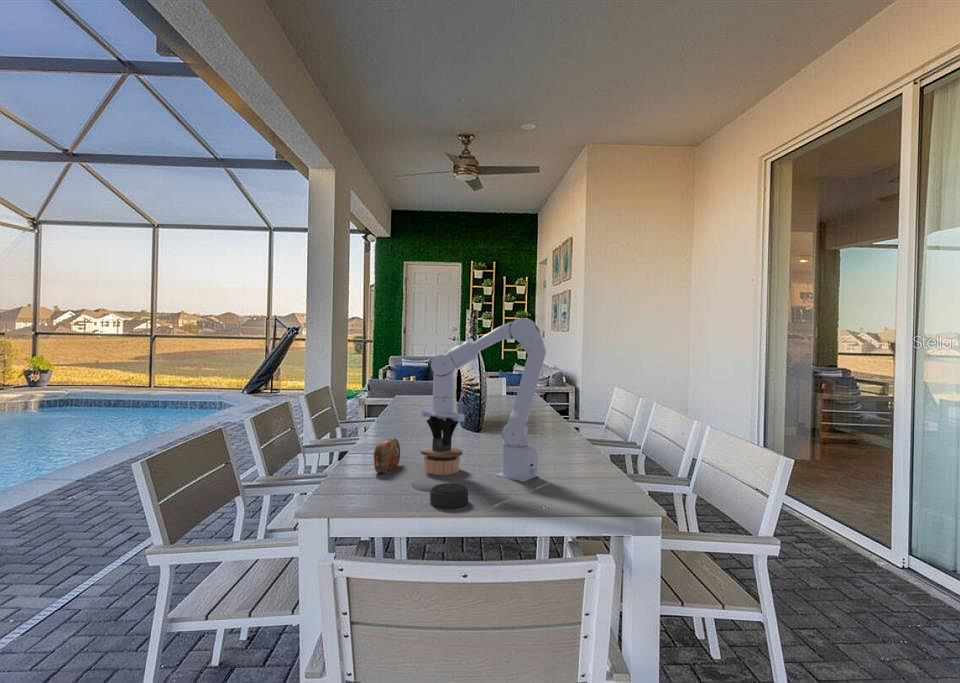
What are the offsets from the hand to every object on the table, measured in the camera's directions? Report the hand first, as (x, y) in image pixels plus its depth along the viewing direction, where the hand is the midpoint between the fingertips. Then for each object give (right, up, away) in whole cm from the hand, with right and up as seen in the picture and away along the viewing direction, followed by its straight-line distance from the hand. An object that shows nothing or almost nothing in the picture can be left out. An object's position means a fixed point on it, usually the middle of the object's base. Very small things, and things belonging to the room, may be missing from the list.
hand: (442, 444), depth 163 cm
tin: (-16, -8, +1) cm, 18 cm away
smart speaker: (+4, -9, -30) cm, 31 cm away
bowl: (0, -8, 0) cm, 8 cm away
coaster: (0, -8, -15) cm, 17 cm away
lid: (0, -3, 0) cm, 3 cm away
